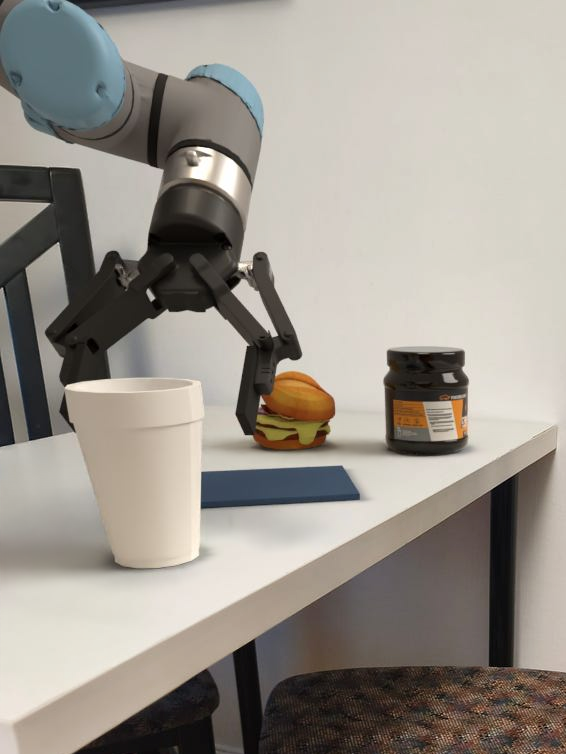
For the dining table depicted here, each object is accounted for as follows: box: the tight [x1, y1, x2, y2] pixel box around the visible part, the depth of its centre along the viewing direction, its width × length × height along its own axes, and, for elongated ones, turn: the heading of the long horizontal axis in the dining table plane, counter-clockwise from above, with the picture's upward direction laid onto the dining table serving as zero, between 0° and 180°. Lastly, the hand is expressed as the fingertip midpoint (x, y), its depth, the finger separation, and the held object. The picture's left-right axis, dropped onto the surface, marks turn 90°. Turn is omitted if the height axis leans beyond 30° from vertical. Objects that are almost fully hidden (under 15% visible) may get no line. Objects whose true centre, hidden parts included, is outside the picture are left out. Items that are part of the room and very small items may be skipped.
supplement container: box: [382, 345, 470, 456], centre depth 110 cm, size 10×10×12 cm
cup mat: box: [200, 464, 361, 509], centre depth 91 cm, size 20×14×1 cm
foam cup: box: [63, 377, 206, 569], centre depth 67 cm, size 10×9×13 cm
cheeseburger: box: [252, 370, 336, 450], centre depth 112 cm, size 10×11×10 cm
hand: (157, 424), depth 69 cm, fingers open, 13 cm apart
